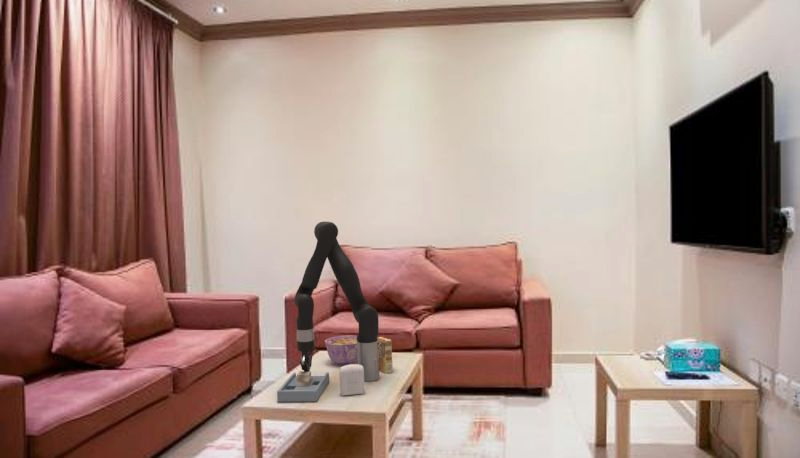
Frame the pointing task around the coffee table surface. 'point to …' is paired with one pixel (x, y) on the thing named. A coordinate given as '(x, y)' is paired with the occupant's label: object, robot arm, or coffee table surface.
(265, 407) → the coffee table surface
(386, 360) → the candy box
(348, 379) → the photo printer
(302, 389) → the track
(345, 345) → the bowl of food
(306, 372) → the cream cube
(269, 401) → the coffee table surface
